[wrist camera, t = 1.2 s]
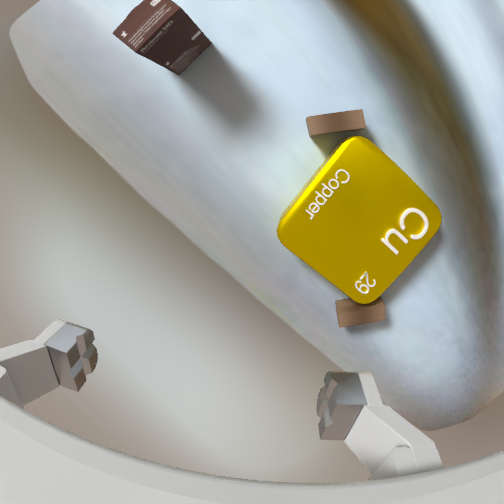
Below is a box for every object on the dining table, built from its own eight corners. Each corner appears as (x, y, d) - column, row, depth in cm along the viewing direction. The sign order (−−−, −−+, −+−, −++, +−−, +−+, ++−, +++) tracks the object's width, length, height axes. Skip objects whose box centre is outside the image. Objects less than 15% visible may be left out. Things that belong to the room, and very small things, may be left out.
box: (181, 77, 32) (133, 54, 21) (159, 57, 32) (108, 31, 20) (216, 44, 30) (181, 6, 19) (192, 25, 30) (152, -14, 18)
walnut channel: (356, 113, 31) (362, 109, 28) (379, 306, 38) (385, 319, 35) (305, 119, 32) (306, 117, 29) (336, 313, 40) (339, 327, 36)
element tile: (348, 129, 32) (356, 127, 28) (434, 210, 34) (450, 219, 29) (272, 225, 37) (268, 236, 33) (360, 295, 39) (366, 313, 34)
